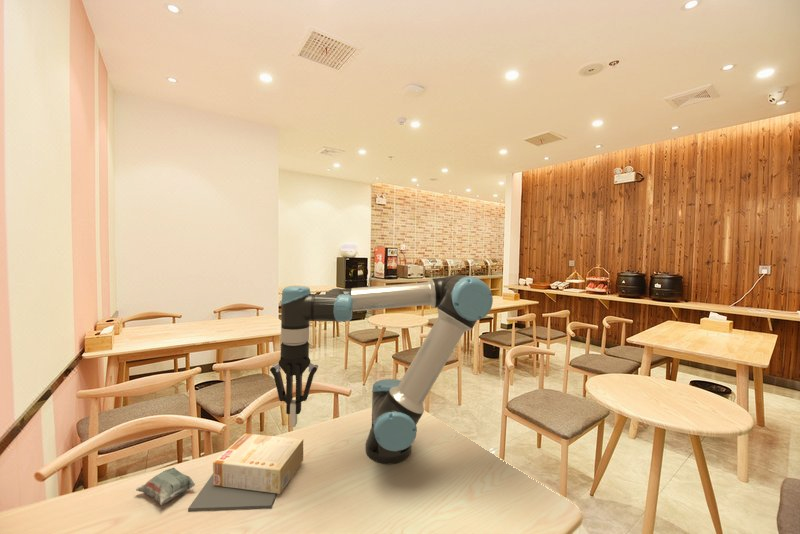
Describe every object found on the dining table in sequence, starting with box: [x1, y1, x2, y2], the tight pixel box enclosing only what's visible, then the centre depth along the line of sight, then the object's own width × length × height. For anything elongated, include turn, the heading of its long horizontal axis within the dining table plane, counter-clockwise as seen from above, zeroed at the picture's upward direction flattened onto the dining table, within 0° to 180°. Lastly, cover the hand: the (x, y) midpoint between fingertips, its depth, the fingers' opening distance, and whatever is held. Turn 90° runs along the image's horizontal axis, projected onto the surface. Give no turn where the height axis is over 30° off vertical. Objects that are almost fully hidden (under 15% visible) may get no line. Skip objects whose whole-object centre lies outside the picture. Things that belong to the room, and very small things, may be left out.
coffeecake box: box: [212, 432, 304, 495], centre depth 96 cm, size 15×7×20 cm
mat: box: [187, 473, 277, 513], centre depth 93 cm, size 20×19×1 cm
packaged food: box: [135, 467, 196, 506], centre depth 88 cm, size 9×12×5 cm
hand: (293, 424), depth 94 cm, fingers closed
